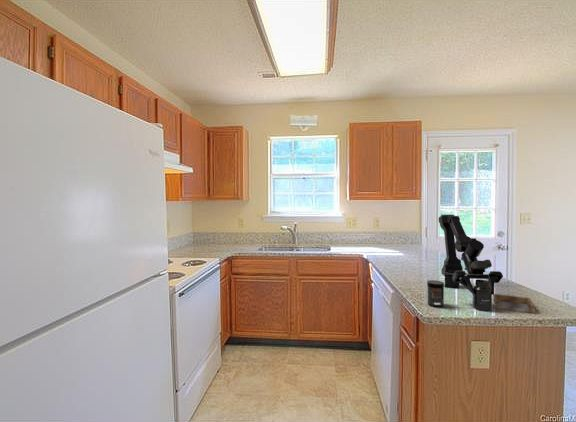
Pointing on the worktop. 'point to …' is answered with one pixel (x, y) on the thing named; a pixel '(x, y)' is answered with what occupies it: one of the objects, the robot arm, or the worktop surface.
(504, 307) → the bay
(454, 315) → the worktop surface
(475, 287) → the supplement bottle
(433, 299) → the supplement container
